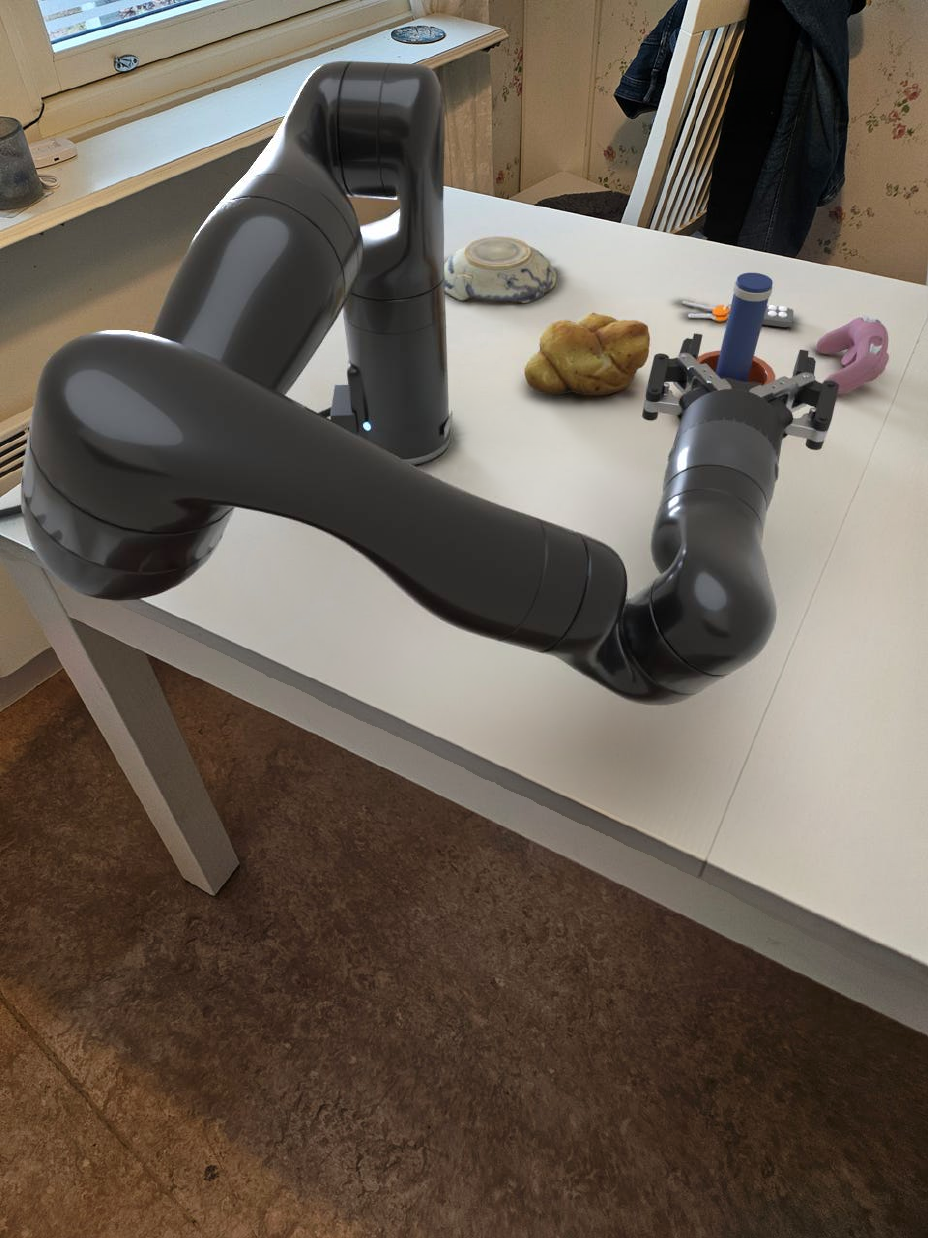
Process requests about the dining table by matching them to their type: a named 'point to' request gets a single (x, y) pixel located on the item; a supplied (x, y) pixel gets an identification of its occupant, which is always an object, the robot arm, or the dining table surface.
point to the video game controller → (857, 352)
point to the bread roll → (588, 356)
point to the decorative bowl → (498, 271)
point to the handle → (744, 325)
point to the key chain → (772, 317)
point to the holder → (758, 370)
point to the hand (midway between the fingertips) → (748, 351)
